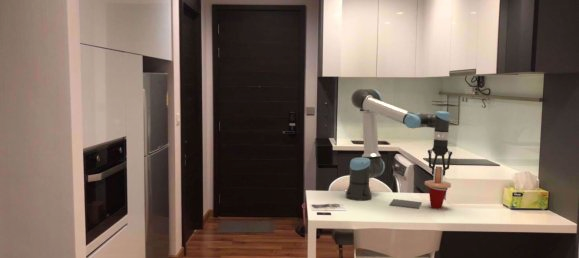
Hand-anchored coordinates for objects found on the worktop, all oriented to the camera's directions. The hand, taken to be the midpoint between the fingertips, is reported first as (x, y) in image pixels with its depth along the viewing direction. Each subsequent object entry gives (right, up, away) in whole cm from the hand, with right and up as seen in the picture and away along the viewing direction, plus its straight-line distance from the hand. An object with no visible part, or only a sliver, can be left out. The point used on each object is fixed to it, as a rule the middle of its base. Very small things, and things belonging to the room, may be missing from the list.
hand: (437, 180), depth 277 cm
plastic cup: (0, -15, +1) cm, 15 cm away
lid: (0, -3, 0) cm, 3 cm away
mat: (-17, -14, +6) cm, 23 cm away
